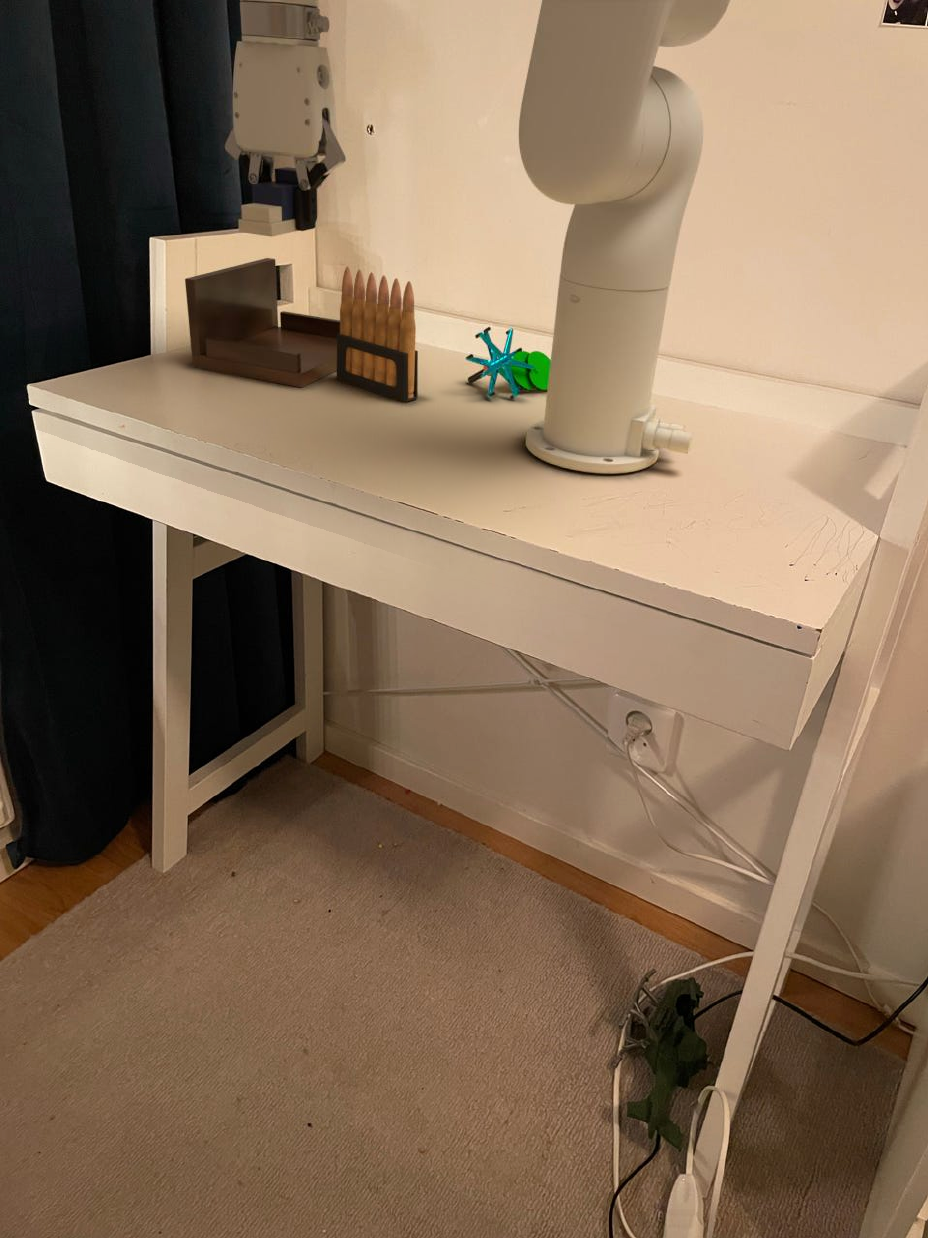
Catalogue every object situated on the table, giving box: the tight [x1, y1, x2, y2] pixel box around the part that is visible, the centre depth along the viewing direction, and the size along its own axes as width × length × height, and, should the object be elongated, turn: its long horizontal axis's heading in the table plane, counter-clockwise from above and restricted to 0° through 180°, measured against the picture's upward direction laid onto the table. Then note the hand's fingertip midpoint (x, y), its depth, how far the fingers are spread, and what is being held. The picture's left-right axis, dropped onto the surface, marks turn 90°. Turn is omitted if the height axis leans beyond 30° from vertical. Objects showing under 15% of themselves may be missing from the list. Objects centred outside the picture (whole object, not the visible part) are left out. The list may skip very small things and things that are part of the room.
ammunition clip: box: [335, 266, 419, 403], centre depth 98 cm, size 11×2×12 cm, turn 50°
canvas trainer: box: [237, 166, 322, 237], centre depth 99 cm, size 10×4×6 cm, turn 158°
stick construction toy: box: [465, 326, 551, 400], centre depth 104 cm, size 12×7×8 cm
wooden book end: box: [184, 257, 340, 388], centre depth 106 cm, size 16×14×10 cm
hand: (286, 224), depth 101 cm, fingers closed on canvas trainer, 4 cm apart
